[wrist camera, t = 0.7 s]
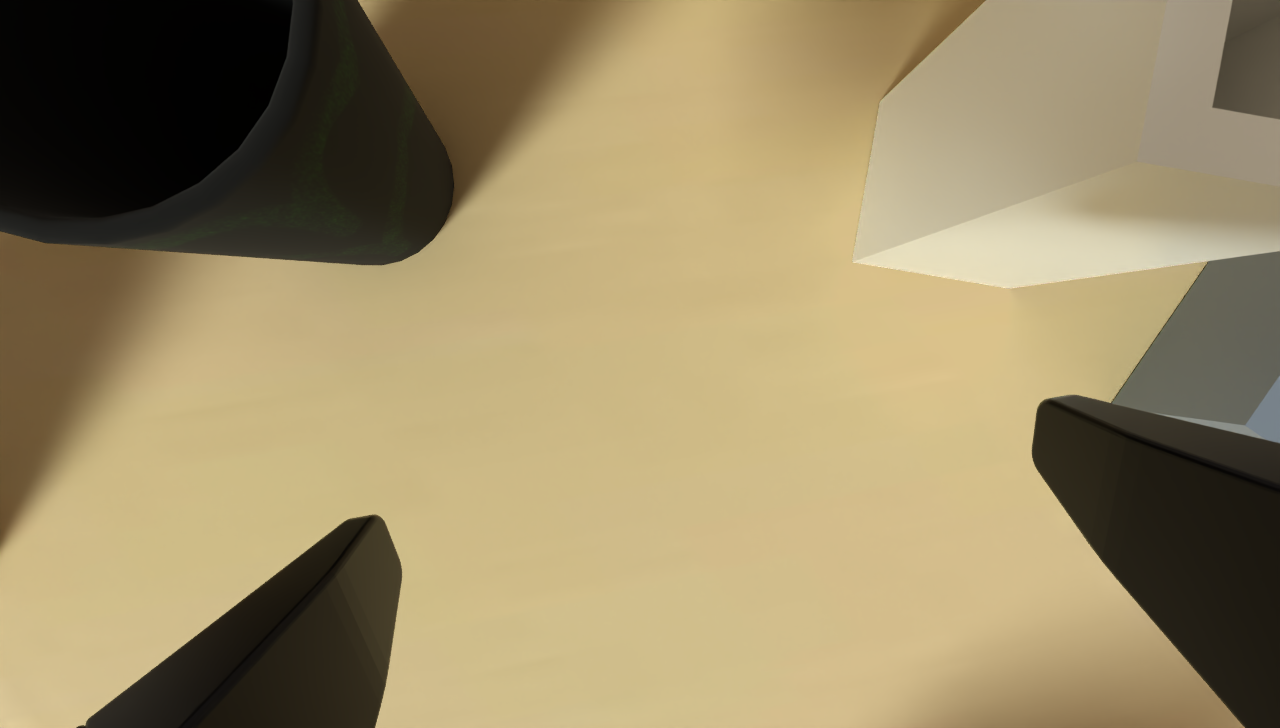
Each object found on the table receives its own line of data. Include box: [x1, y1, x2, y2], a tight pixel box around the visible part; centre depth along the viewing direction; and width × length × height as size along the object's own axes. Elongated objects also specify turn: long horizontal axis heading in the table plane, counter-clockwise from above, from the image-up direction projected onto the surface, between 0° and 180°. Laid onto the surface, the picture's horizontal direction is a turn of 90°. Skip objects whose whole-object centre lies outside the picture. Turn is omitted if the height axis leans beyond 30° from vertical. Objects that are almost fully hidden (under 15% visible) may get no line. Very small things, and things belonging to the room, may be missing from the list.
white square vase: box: [852, 0, 1280, 289], centre depth 16 cm, size 6×6×12 cm
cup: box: [0, 0, 454, 265], centre depth 16 cm, size 8×8×12 cm
